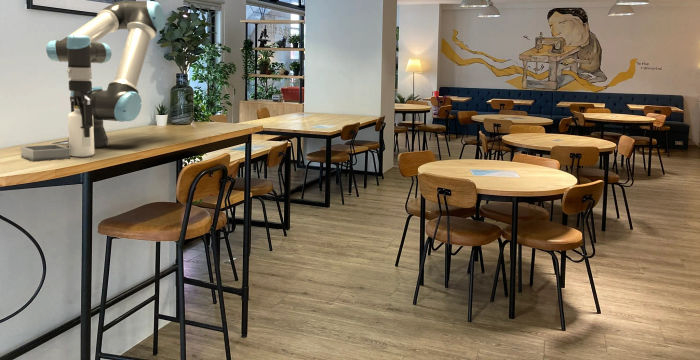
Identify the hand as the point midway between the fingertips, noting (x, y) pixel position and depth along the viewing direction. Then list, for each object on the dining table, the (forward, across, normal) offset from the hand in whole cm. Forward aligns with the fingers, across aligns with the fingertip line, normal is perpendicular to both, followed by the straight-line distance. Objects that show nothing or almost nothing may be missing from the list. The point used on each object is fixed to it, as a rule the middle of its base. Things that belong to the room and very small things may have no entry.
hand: (82, 145), depth 227 cm
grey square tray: (+4, -3, -12) cm, 13 cm away
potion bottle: (+4, -1, 0) cm, 4 cm away
